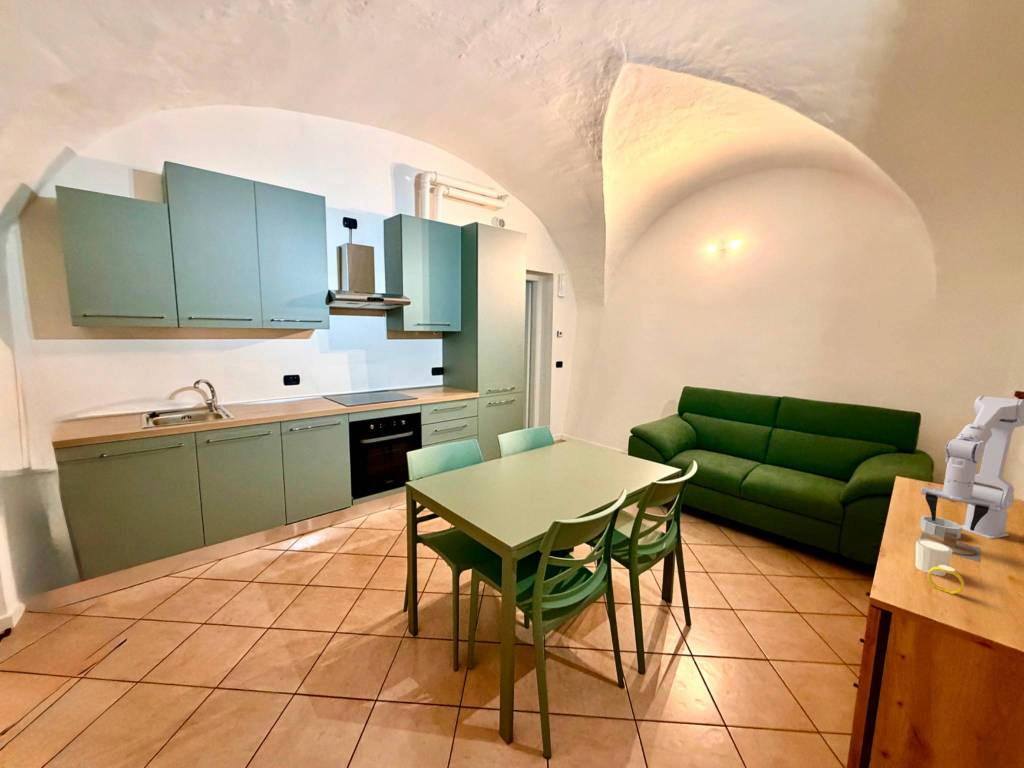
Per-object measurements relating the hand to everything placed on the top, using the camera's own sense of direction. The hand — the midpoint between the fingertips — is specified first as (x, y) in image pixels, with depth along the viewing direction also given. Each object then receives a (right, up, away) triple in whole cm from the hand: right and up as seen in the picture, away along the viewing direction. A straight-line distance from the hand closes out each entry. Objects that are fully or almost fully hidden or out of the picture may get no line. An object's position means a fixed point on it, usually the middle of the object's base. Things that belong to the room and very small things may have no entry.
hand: (952, 524), depth 118 cm
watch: (-24, -9, -20) cm, 33 cm away
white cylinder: (-18, -8, -11) cm, 23 cm away
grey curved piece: (+7, -6, +10) cm, 13 cm away
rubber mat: (0, -7, +1) cm, 7 cm away
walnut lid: (0, -7, +1) cm, 7 cm away
